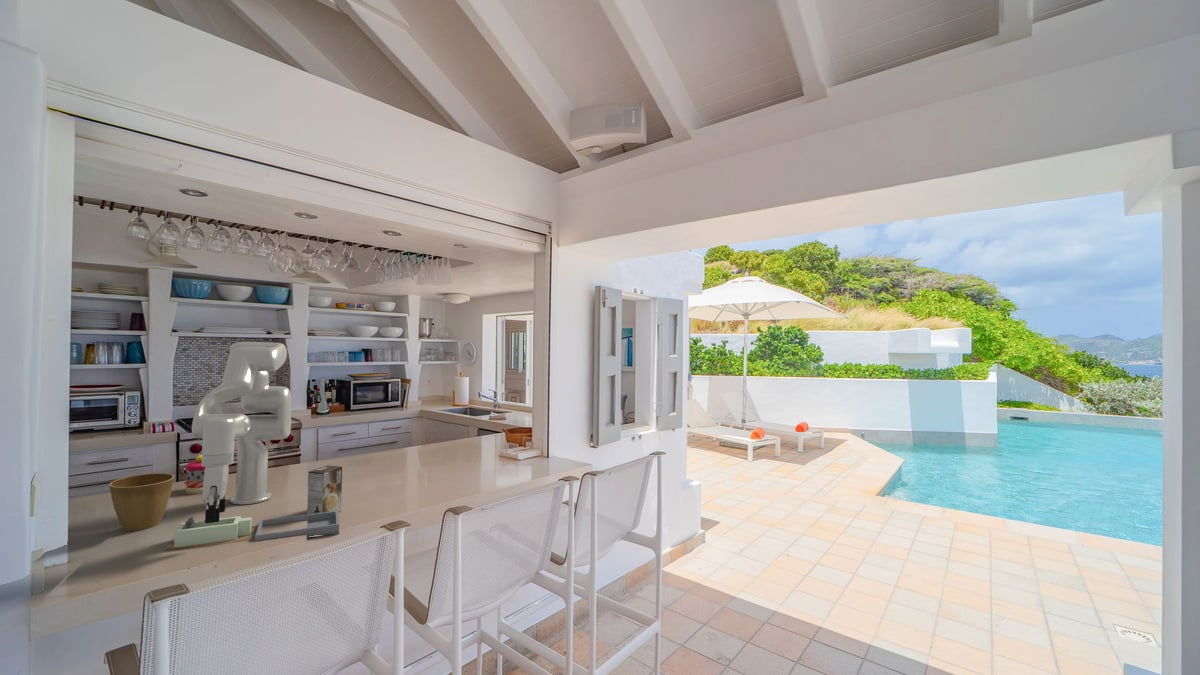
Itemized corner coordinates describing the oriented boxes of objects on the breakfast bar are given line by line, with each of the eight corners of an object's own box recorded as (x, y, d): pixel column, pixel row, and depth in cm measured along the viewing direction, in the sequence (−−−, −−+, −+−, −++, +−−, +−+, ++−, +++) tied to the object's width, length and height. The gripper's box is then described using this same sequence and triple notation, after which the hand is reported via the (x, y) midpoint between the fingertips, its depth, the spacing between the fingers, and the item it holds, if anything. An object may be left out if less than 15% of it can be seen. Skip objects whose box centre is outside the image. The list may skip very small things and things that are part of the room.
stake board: (174, 541, 148) (175, 514, 148) (255, 530, 158) (256, 505, 158) (163, 557, 138) (164, 528, 138) (251, 545, 147) (252, 518, 147)
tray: (260, 529, 159) (260, 519, 159) (337, 519, 170) (338, 510, 170) (254, 545, 147) (255, 535, 147) (338, 533, 158) (339, 524, 158)
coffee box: (326, 509, 179) (327, 464, 179) (341, 511, 178) (343, 466, 178) (306, 518, 170) (308, 471, 170) (322, 520, 169) (324, 472, 169)
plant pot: (112, 527, 157) (114, 476, 157) (174, 519, 165) (176, 470, 166) (102, 544, 145) (104, 489, 145) (169, 533, 153) (171, 482, 154)
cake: (209, 494, 192) (211, 455, 192) (178, 495, 189) (179, 455, 189) (224, 486, 202) (225, 449, 202) (194, 487, 200) (195, 449, 200)
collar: (180, 538, 147) (181, 522, 147) (252, 529, 155) (252, 514, 155) (174, 547, 141) (174, 531, 141) (249, 537, 149) (249, 522, 149)
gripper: (208, 454, 154) (205, 510, 153) (195, 466, 139) (192, 528, 138) (237, 452, 157) (235, 507, 157) (228, 464, 142) (226, 524, 142)
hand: (215, 517), depth 148 cm, fingers open, 9 cm apart
